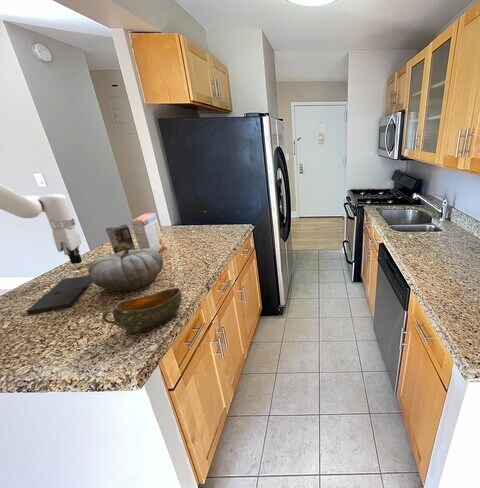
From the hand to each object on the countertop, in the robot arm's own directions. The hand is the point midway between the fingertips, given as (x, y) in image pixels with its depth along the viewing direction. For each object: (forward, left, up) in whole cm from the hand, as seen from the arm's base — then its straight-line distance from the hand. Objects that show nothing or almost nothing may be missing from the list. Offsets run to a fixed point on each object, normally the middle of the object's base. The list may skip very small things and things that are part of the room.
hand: (77, 262), depth 117 cm
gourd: (+24, -17, -7) cm, 30 cm away
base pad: (+1, -22, -7) cm, 23 cm away
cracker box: (+26, +18, -7) cm, 32 cm away
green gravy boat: (+36, -50, -7) cm, 62 cm away
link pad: (+1, -11, -7) cm, 13 cm away
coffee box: (+13, +19, -7) cm, 23 cm away
